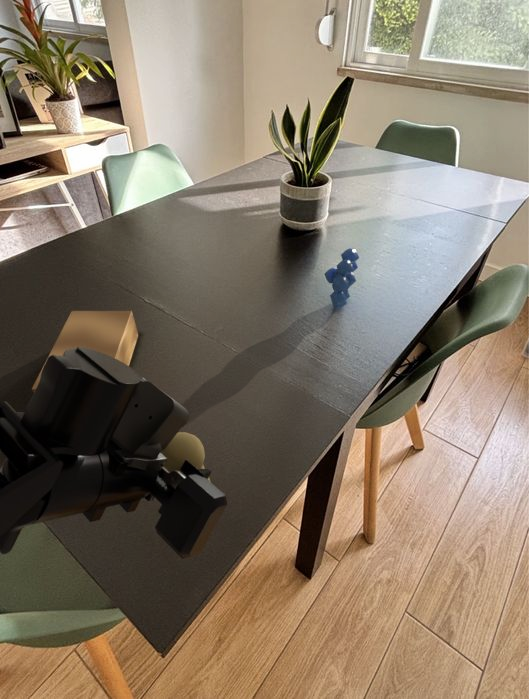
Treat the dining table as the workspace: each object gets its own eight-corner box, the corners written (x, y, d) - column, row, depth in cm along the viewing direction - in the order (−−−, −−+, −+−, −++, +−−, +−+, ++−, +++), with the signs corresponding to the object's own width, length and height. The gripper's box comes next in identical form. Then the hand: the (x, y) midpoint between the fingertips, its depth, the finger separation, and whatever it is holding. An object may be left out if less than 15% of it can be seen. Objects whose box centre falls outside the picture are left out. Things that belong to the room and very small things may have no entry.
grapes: (329, 282, 97) (335, 234, 89) (358, 289, 95) (367, 240, 87) (313, 312, 89) (319, 262, 81) (345, 320, 87) (353, 270, 79)
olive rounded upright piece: (194, 530, 49) (182, 482, 42) (154, 504, 52) (136, 454, 44) (224, 489, 53) (218, 438, 46) (186, 467, 55) (174, 415, 48)
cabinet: (113, 413, 70) (104, 389, 66) (45, 413, 70) (31, 389, 66) (138, 335, 84) (131, 310, 79) (81, 335, 84) (71, 310, 79)
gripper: (201, 458, 30) (290, 446, 44) (59, 340, 39) (171, 361, 52) (131, 589, 31) (240, 537, 45) (9, 445, 40) (131, 438, 53)
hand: (192, 460), depth 49 cm, fingers closed on olive rounded upright piece, 5 cm apart
